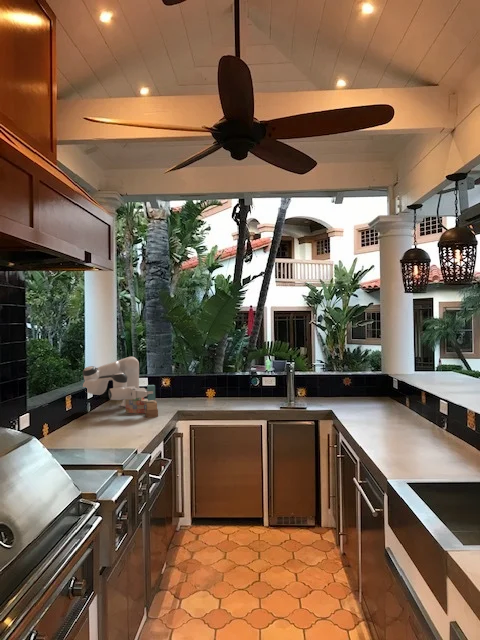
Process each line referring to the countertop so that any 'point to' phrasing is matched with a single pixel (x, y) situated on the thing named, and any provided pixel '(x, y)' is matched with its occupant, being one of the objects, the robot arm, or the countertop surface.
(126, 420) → the countertop surface
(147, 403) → the tower top
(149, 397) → the teal block
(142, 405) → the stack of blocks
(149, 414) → the tower base
